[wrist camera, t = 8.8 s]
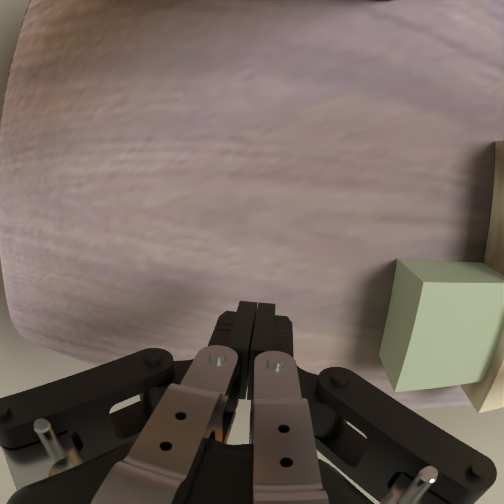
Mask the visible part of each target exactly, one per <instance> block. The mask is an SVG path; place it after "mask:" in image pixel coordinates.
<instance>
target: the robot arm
mask: <svg viewBox="0 0 504 504" xmlns="http://www.w3.org/2000/svg"><path fill="white" fill-rule="evenodd" d="M247 385H248V392H247V399H248V400H251V411H250V433H249V436H250V437H249V444H242V445H228V444H226V443H227V440H228V437H229V434H230V430H231V427H232V424H233V421H234V418H235V414H236V408H237V405H238V401H239V399H245V397H246V391H247ZM138 394H139V395H140V400H141V401H139V402H136V403H134V404H132V405H129V406H127V407H125V408H122V409H120V410H118V411H115V412H113V413H111V414H109V411H110V409H111V408H112V406H114V405H115V404H117V403H119V402H122V401H124V400H127V399H128V398H131V397H134V396H136V395H138ZM347 421H348V422H349V423H351V424H352V425H353V426H355V427H356V428H357V429H359V430H360V431H361V432H362V433H364V434H365V436H366V437H367V439H366V438H365V437H364V436H362V435H361V434H360V433H359V432H357V431H356V430H355V429H353V428H352V427H351V426H350V425H348V424H347ZM0 447H1V449H2V450H3V452H4V454H5V457H6V461H7V464H8V467H9V470H10V472H11V475H12V478H13V481H14V484H15V486H16V489H17V491H16V492H15V493H14V494H13V495H12V496H11V498H10V499H9V500H8V502H7V504H374V503H373V502H372V501H371V500H369V499H368V498H367V497H366V496H365V495H364V494H363V493H361V492H360V491H359V490H358V489H357V488H356V487H355V486H353V485H352V484H351V483H350V482H349V481H348V480H347V479H346V478H345V477H344V476H343V475H341V474H340V473H339V472H338V471H337V470H336V469H335V468H333V467H332V466H331V465H329V464H328V463H326V462H324V461H322V460H320V459H318V457H317V451H316V449H317V450H318V451H319V452H320V453H321V454H323V455H324V456H325V457H326V458H327V459H328V460H329V461H331V462H332V463H333V464H334V465H335V466H336V467H337V468H339V469H340V470H341V471H342V472H343V473H344V474H346V475H347V476H348V477H349V478H350V479H352V480H353V481H354V482H355V483H356V484H358V485H359V486H360V487H361V488H363V489H364V490H365V491H366V492H367V493H369V494H370V495H371V496H373V497H374V498H375V499H376V500H378V501H379V502H380V504H474V503H475V502H476V501H477V500H478V499H479V498H480V497H481V496H482V495H483V494H484V493H485V492H486V491H487V490H488V489H489V488H490V487H491V486H492V485H493V483H494V482H495V480H496V476H497V471H496V467H495V465H494V463H493V462H492V460H491V459H489V458H488V457H487V456H485V455H483V454H482V453H480V452H478V451H477V450H475V449H473V448H472V447H470V446H468V445H467V444H465V443H463V442H462V441H459V440H458V439H457V438H455V437H453V436H452V435H450V434H448V433H447V432H445V431H444V430H442V429H440V428H439V427H437V426H436V425H434V424H432V423H431V422H429V421H427V420H426V419H424V418H423V417H421V416H419V415H418V414H416V413H415V412H413V411H412V410H410V409H409V408H407V407H406V406H404V405H402V404H401V403H399V402H398V401H396V400H395V399H393V398H392V397H390V396H389V395H387V394H386V393H384V392H383V391H381V390H380V389H378V388H376V387H375V386H373V385H372V384H370V383H369V382H367V381H366V380H364V379H363V378H361V377H360V376H359V375H357V374H356V373H354V372H352V371H351V370H348V369H346V368H342V367H330V368H327V369H324V370H323V371H321V372H320V374H319V375H316V374H312V373H309V372H306V371H304V370H302V369H300V368H299V367H298V366H297V365H296V361H295V359H294V358H293V331H292V322H291V321H290V319H289V318H288V317H287V316H277V315H275V304H270V303H258V308H257V302H247V301H240V302H239V306H238V309H237V312H233V311H226V312H224V313H223V314H222V315H220V316H219V318H218V321H217V324H216V326H215V329H214V331H213V334H212V336H211V339H210V342H209V344H208V346H207V347H204V348H202V349H201V350H200V351H199V352H198V353H197V355H196V357H195V358H194V359H192V360H185V361H173V356H172V355H171V354H170V353H169V352H168V351H166V350H163V349H159V348H148V349H144V350H141V351H139V352H136V353H133V354H131V355H128V356H125V357H122V358H120V359H117V360H114V361H112V362H109V363H106V364H103V365H100V366H98V367H95V368H92V369H89V370H86V371H84V372H81V373H78V374H75V375H72V376H69V377H66V378H63V379H60V380H57V381H54V382H51V383H48V384H45V385H42V386H39V387H36V388H33V389H29V390H26V391H23V392H20V393H16V394H13V395H10V396H6V397H3V398H0Z"/></svg>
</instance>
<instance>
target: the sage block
mask: <svg viewBox="0 0 504 504" xmlns="http://www.w3.org/2000/svg"><path fill="white" fill-rule="evenodd" d="M503 327H504V275H502V274H501V273H499V272H497V271H496V270H494V269H492V268H491V267H489V266H487V265H486V264H484V263H482V262H461V261H439V260H417V259H397V263H396V270H395V276H394V282H393V288H392V294H391V299H390V305H389V310H388V315H387V320H386V324H385V329H384V334H383V338H382V342H381V347H380V351H379V357H380V359H381V362H382V364H383V366H384V368H385V371H386V373H387V375H388V378H389V380H390V383H391V385H392V387H393V390H394V392H401V391H412V390H422V389H431V388H440V387H447V386H454V385H461V384H467V383H473V382H479V381H483V380H484V377H485V375H486V373H487V370H488V368H489V365H490V363H491V360H492V358H493V355H494V353H495V350H496V347H497V345H498V342H499V339H500V336H501V333H502V330H503Z"/></svg>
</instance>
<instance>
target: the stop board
mask: <svg viewBox="0 0 504 504" xmlns="http://www.w3.org/2000/svg"><path fill="white" fill-rule="evenodd" d="M483 263H484V264H486V265H487V266H489V267H491V268H492V269H494V270H496V271H497V272H499V273H501V274H502V275H504V141H495V172H494V188H493V199H492V209H491V217H490V225H489V232H488V239H487V245H486V250H485V256H484V261H483ZM460 386H461V387H462V389H463V390H464V392H465V393H466V395H467V396H468V398H469V400H470V401H471V403H472V404H473V406H474V407H475V409H476V411H477V412H478V413H481V412H486V411H490V410H494V409H498V408H502V407H504V327H503V330H502V333H501V336H500V339H499V342H498V345H497V347H496V350H495V353H494V355H493V358H492V360H491V363H490V365H489V368H488V370H487V373H486V375H485V377H484V380H483V381H479V382H473V383H467V384H461V385H460Z"/></svg>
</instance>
